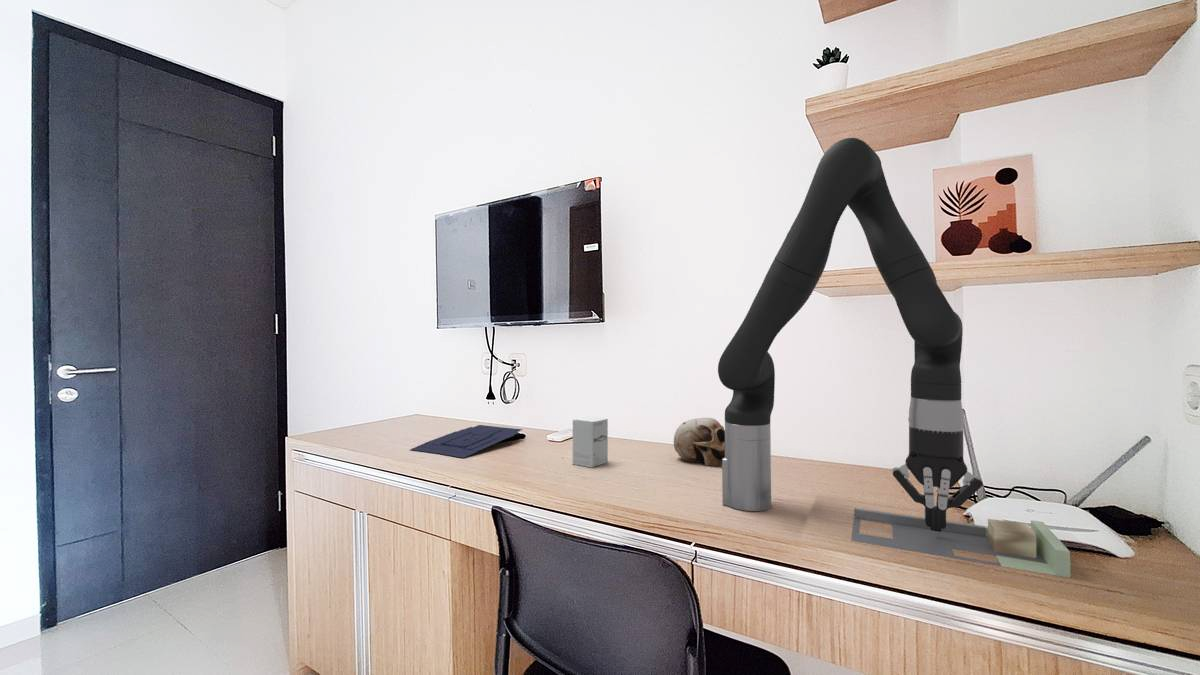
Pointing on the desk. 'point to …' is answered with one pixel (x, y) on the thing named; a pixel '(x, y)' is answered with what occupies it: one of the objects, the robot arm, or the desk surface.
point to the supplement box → (590, 441)
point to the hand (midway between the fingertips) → (935, 529)
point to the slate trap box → (964, 542)
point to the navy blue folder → (467, 440)
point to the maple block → (1012, 538)
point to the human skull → (701, 441)
